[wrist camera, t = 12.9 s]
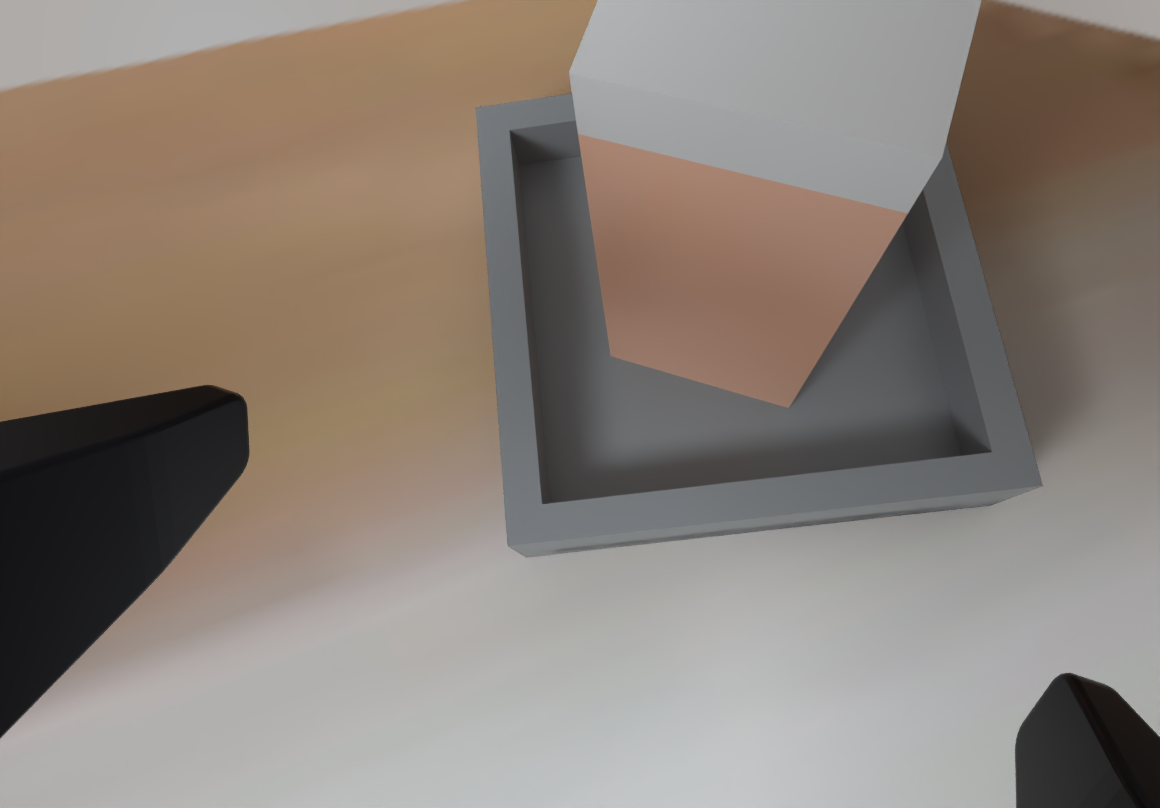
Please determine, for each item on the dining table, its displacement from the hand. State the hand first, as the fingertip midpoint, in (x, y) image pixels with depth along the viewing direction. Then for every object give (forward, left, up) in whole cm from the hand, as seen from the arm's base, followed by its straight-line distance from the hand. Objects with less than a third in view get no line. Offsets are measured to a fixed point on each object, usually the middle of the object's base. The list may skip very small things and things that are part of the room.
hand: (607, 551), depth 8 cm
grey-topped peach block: (+7, -3, -9) cm, 12 cm away
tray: (+7, -3, -10) cm, 13 cm away
